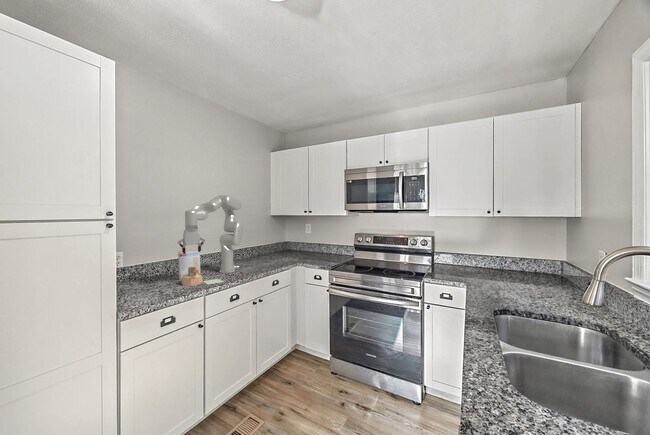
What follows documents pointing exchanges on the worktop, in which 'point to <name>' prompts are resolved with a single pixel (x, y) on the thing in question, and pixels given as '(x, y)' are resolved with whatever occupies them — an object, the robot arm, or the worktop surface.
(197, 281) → the bowl
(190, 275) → the lid
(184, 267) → the cracker box
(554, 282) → the worktop surface
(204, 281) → the mat
